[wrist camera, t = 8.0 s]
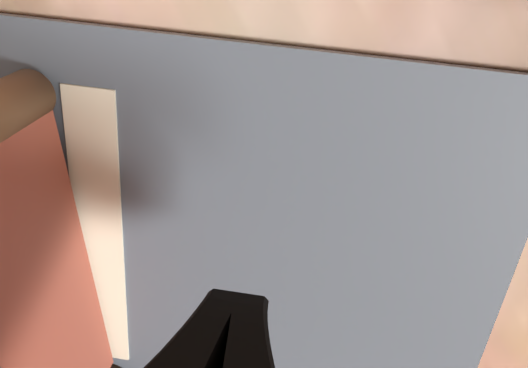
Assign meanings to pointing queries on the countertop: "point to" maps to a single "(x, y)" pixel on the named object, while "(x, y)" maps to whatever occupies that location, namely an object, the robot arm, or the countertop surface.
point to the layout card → (288, 189)
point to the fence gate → (42, 241)
